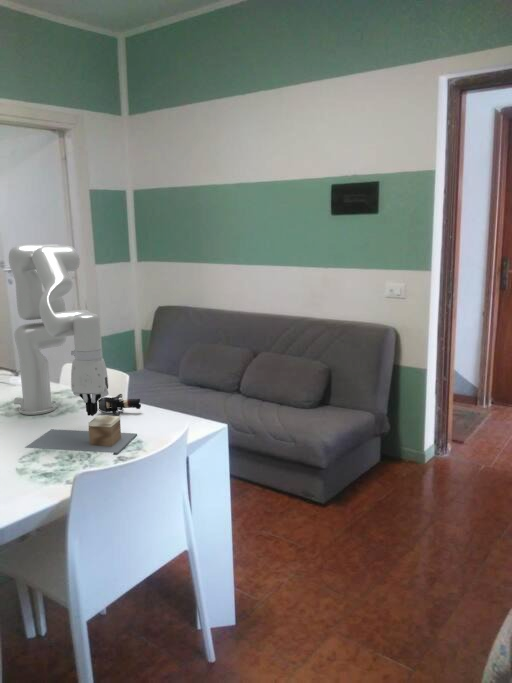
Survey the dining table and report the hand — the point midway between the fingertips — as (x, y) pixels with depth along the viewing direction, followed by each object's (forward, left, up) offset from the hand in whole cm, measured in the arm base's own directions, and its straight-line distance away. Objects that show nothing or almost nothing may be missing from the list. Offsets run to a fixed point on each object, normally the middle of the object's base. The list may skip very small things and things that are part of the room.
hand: (92, 414), depth 173 cm
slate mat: (-4, 0, -9) cm, 10 cm away
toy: (-3, +28, -9) cm, 30 cm away
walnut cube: (+4, 0, -2) cm, 4 cm away
